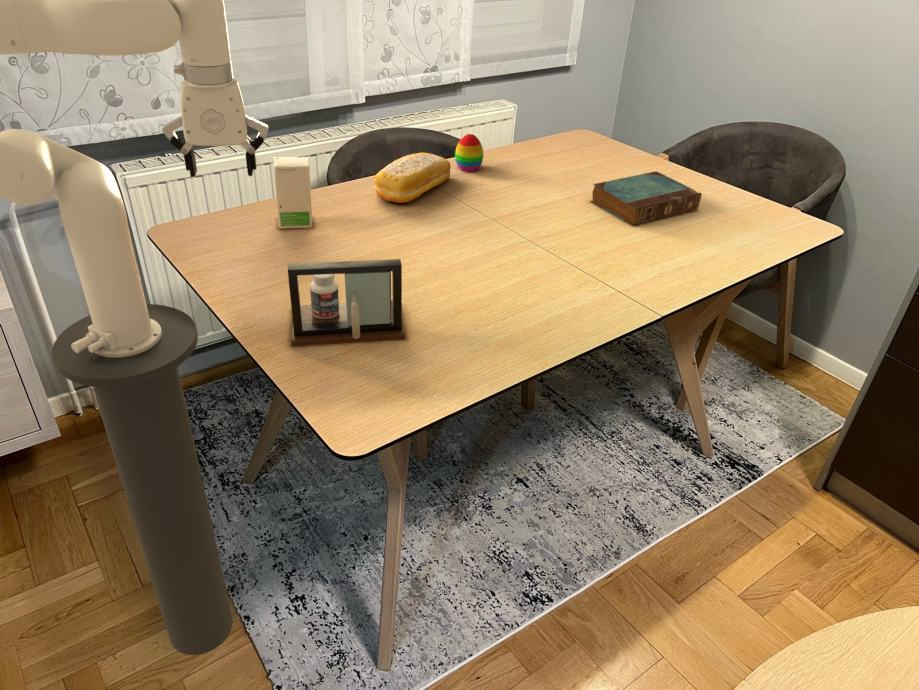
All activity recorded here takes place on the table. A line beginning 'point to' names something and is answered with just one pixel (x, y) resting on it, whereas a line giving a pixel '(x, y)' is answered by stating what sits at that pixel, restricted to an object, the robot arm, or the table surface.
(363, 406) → the table surface
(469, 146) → the decorative egg
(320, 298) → the pill bottle
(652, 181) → the book
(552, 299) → the table surface
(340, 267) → the window frame
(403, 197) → the bread
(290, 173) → the cosmetic box
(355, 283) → the pane
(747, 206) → the table surface
